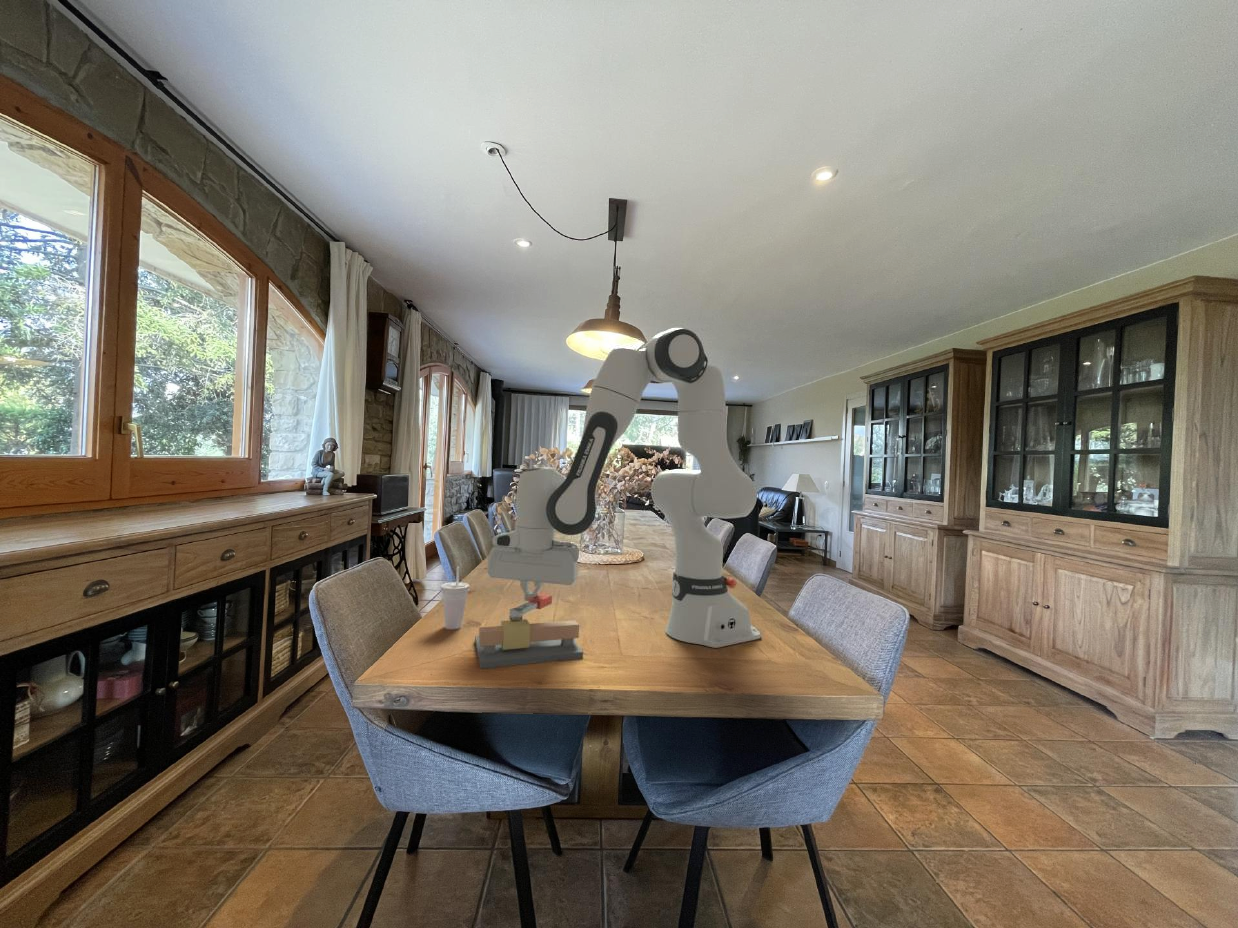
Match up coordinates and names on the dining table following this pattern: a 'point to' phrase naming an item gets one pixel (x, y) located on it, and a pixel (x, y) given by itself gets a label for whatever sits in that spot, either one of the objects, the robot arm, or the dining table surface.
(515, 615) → the lever
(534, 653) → the board
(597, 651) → the dining table surface
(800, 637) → the dining table surface
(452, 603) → the smoothie
